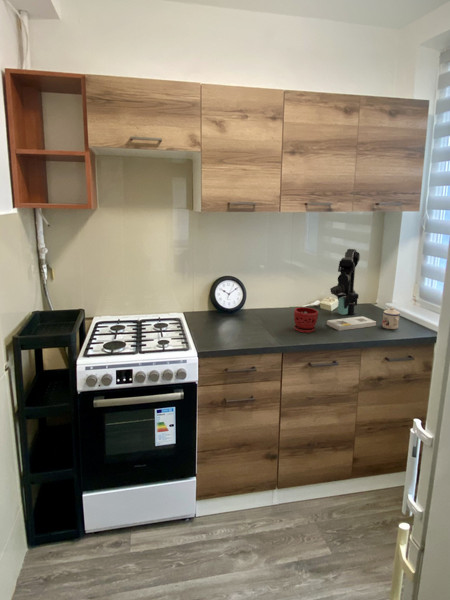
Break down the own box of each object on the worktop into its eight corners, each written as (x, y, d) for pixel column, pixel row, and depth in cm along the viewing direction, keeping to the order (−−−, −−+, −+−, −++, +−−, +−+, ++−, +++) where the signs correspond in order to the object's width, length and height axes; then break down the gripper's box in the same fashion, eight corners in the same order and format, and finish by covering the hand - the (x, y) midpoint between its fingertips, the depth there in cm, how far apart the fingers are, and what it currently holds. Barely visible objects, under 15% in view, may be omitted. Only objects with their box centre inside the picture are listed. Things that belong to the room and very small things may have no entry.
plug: (337, 312, 244) (338, 296, 242) (343, 312, 246) (344, 296, 243) (341, 314, 241) (343, 298, 238) (347, 313, 242) (348, 297, 240)
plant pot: (298, 334, 230) (299, 313, 227) (290, 327, 243) (291, 307, 240) (320, 333, 233) (322, 312, 230) (311, 326, 245) (312, 306, 242)
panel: (326, 324, 248) (327, 320, 248) (362, 320, 258) (362, 316, 257) (339, 330, 238) (339, 326, 237) (375, 325, 247) (376, 321, 246)
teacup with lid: (378, 324, 249) (380, 306, 246) (393, 324, 250) (395, 305, 247) (389, 331, 237) (391, 311, 234) (404, 330, 238) (406, 311, 236)
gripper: (323, 278, 244) (321, 304, 248) (343, 285, 227) (341, 313, 231) (339, 277, 248) (337, 303, 252) (360, 284, 231) (357, 311, 235)
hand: (343, 307), depth 242 cm, fingers closed on plug, 4 cm apart
